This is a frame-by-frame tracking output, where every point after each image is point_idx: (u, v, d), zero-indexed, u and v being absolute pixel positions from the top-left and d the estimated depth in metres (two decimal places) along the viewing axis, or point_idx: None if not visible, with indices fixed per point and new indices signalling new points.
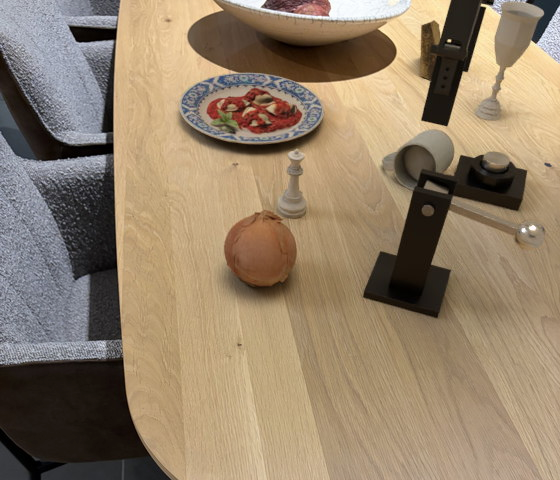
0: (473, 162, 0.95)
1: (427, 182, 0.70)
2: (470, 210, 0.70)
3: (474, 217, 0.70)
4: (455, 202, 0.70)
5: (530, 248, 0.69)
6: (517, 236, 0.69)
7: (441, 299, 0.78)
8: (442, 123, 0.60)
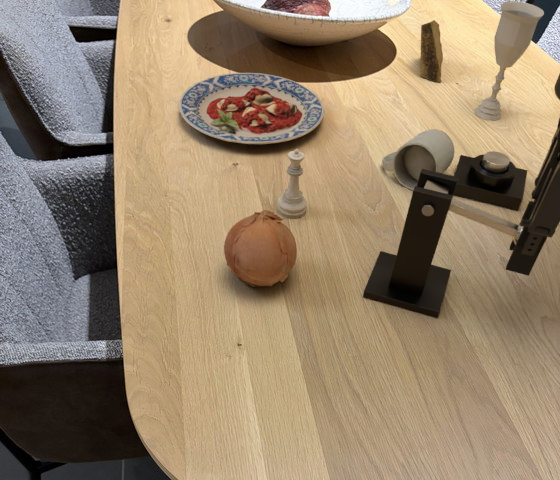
0: (473, 162, 0.95)
1: (427, 182, 0.70)
2: (469, 210, 0.70)
3: (474, 217, 0.70)
4: (455, 202, 0.70)
5: None
6: (517, 237, 0.69)
7: (441, 299, 0.78)
8: (524, 273, 0.71)
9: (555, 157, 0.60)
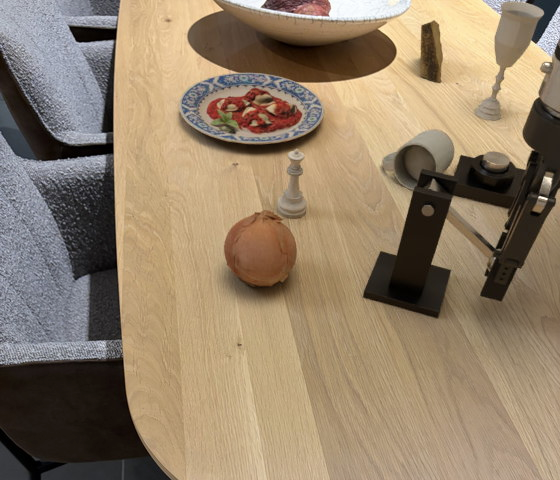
0: (473, 162, 0.95)
1: (433, 181, 0.70)
2: (461, 222, 0.71)
3: (462, 230, 0.72)
4: (451, 210, 0.71)
5: None
6: (492, 260, 0.73)
7: (441, 299, 0.78)
8: (497, 299, 0.75)
9: (523, 195, 0.64)
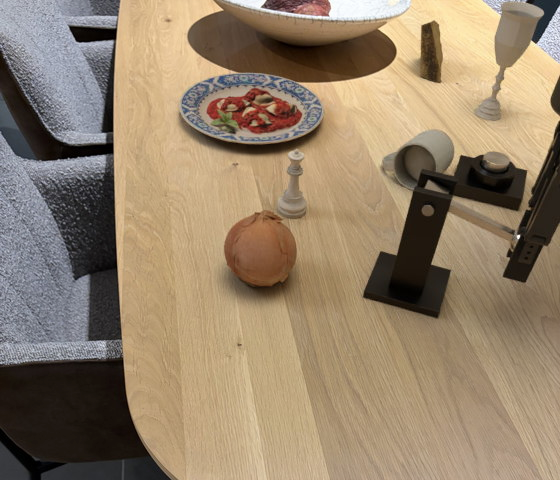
0: (473, 162, 0.95)
1: (428, 182, 0.70)
2: (468, 213, 0.70)
3: (472, 220, 0.70)
4: (455, 204, 0.70)
5: None
6: (513, 242, 0.70)
7: (441, 299, 0.78)
8: (521, 280, 0.72)
9: (551, 167, 0.61)
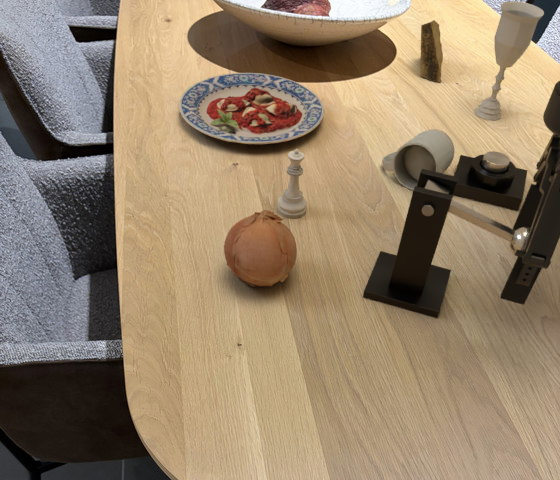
0: (473, 162, 0.95)
1: (428, 182, 0.70)
2: (468, 213, 0.70)
3: (472, 220, 0.70)
4: (455, 204, 0.70)
5: None
6: (513, 242, 0.70)
7: (441, 299, 0.78)
8: (519, 302, 0.68)
9: (547, 180, 0.61)
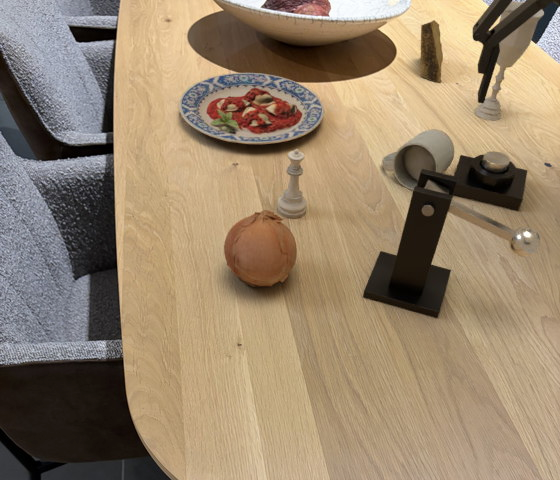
0: (473, 162, 0.95)
1: (428, 182, 0.70)
2: (468, 213, 0.70)
3: (472, 220, 0.70)
4: (455, 204, 0.70)
5: (524, 255, 0.70)
6: (513, 242, 0.70)
7: (441, 299, 0.78)
8: (478, 99, 0.79)
9: None
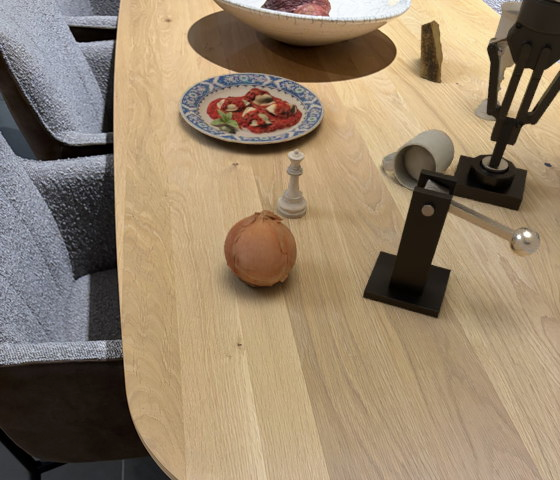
0: (473, 162, 0.95)
1: (428, 182, 0.70)
2: (468, 213, 0.70)
3: (472, 220, 0.70)
4: (455, 204, 0.70)
5: (524, 255, 0.70)
6: (513, 242, 0.70)
7: (441, 299, 0.78)
8: (490, 161, 0.94)
9: None
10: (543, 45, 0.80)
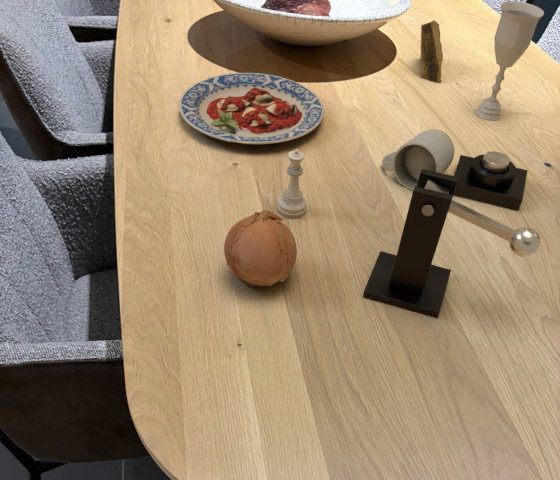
0: (473, 162, 0.95)
1: (428, 182, 0.70)
2: (468, 213, 0.70)
3: (472, 220, 0.70)
4: (455, 204, 0.70)
5: (524, 255, 0.70)
6: (513, 242, 0.70)
7: (441, 299, 0.78)
8: None
9: None
10: None
